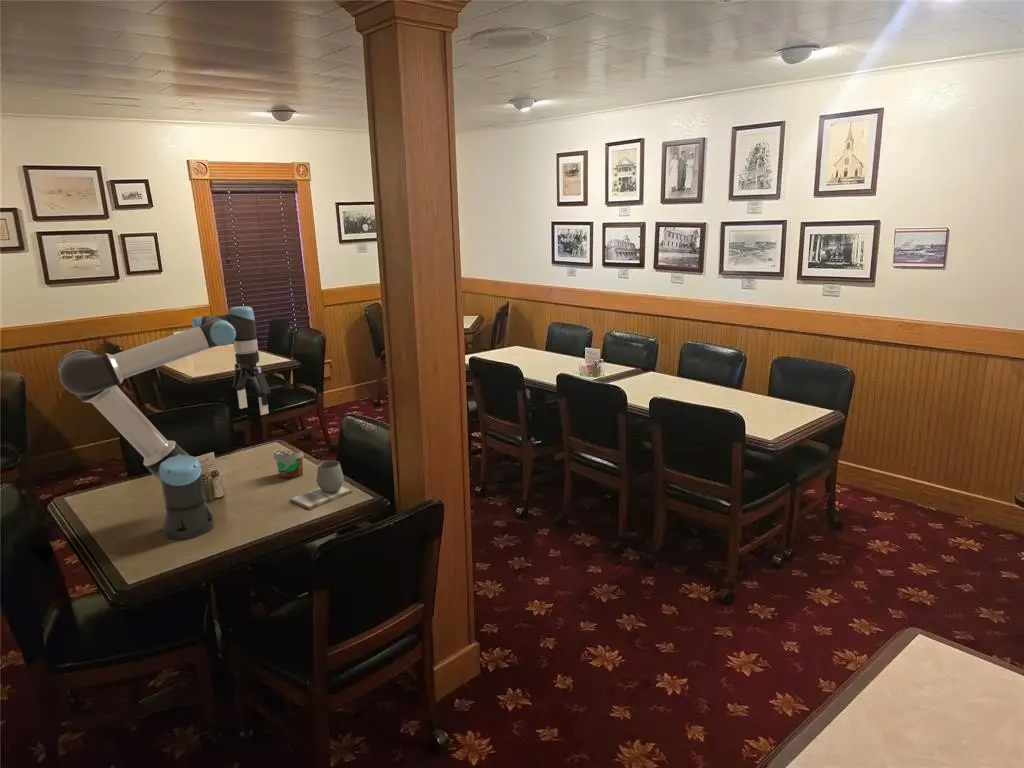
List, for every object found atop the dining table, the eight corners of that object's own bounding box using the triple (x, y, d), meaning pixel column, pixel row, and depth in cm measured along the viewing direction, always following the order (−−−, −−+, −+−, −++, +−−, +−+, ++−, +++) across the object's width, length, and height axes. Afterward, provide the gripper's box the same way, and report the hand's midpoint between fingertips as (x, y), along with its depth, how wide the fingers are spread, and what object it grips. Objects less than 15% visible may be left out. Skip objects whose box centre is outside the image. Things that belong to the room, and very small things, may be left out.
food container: (269, 478, 256) (266, 454, 254) (278, 472, 262) (276, 448, 260) (296, 481, 253) (293, 456, 250) (306, 475, 259) (303, 451, 256)
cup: (348, 485, 245) (346, 459, 243) (339, 495, 236) (336, 469, 234) (323, 484, 246) (321, 459, 244) (313, 495, 237) (311, 468, 235)
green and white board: (310, 509, 228) (309, 506, 227) (289, 501, 235) (289, 498, 235) (352, 492, 241) (352, 489, 241) (331, 485, 249) (331, 482, 248)
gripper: (277, 353, 224) (283, 414, 229) (237, 346, 239) (244, 403, 244) (256, 357, 218) (264, 419, 223) (217, 349, 233) (225, 407, 238)
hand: (253, 411), depth 234 cm, fingers open, 13 cm apart
